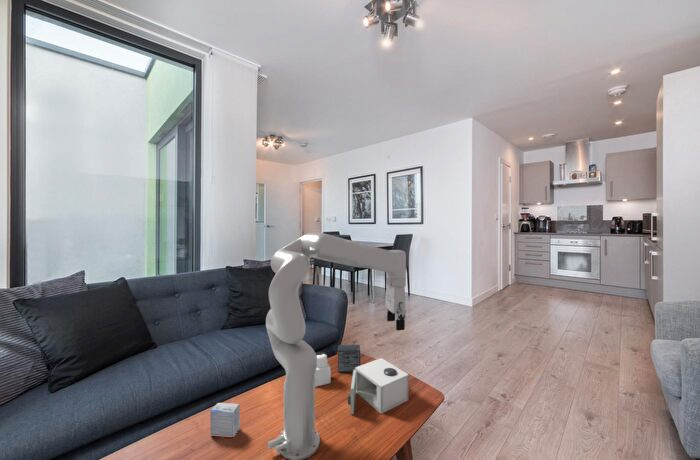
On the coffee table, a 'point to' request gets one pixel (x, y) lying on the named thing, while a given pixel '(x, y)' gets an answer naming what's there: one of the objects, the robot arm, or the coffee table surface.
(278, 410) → the coffee table surface
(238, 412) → the medicine box
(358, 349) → the small box
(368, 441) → the coffee table surface
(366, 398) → the white cabinet
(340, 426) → the coffee table surface
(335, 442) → the coffee table surface
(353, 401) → the side door
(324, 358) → the white square bottle
